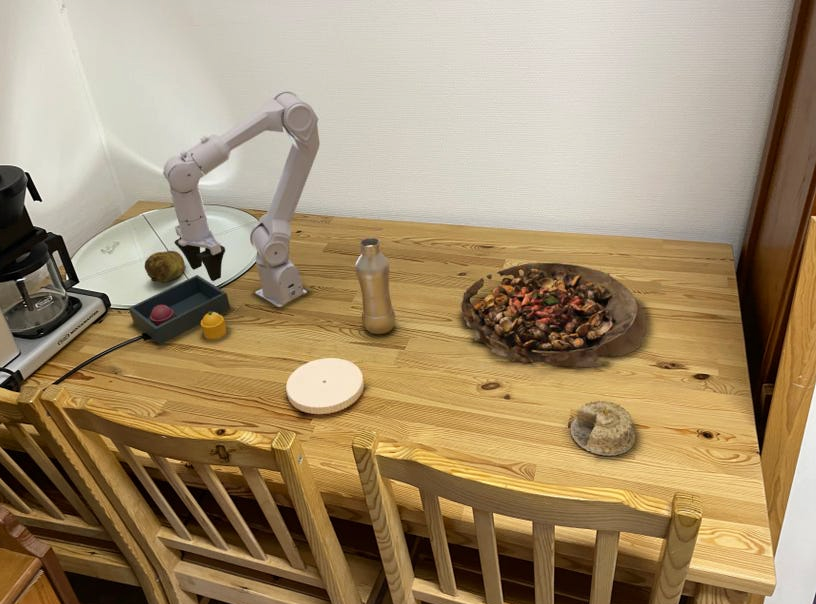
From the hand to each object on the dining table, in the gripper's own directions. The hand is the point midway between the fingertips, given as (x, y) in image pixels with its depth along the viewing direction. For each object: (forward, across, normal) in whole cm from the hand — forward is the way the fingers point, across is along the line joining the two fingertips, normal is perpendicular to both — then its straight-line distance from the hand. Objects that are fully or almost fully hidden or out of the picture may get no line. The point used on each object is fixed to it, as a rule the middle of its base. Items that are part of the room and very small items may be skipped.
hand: (206, 273), depth 154 cm
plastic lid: (+10, +40, -2) cm, 41 cm away
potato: (+10, -22, +1) cm, 25 cm away
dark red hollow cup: (+10, -4, -11) cm, 15 cm away
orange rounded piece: (+10, +7, -5) cm, 13 cm away
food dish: (+10, +57, +42) cm, 72 cm away
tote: (+10, -4, -6) cm, 13 cm away
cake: (+10, +82, +21) cm, 85 cm away
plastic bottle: (+10, +33, +18) cm, 39 cm away
